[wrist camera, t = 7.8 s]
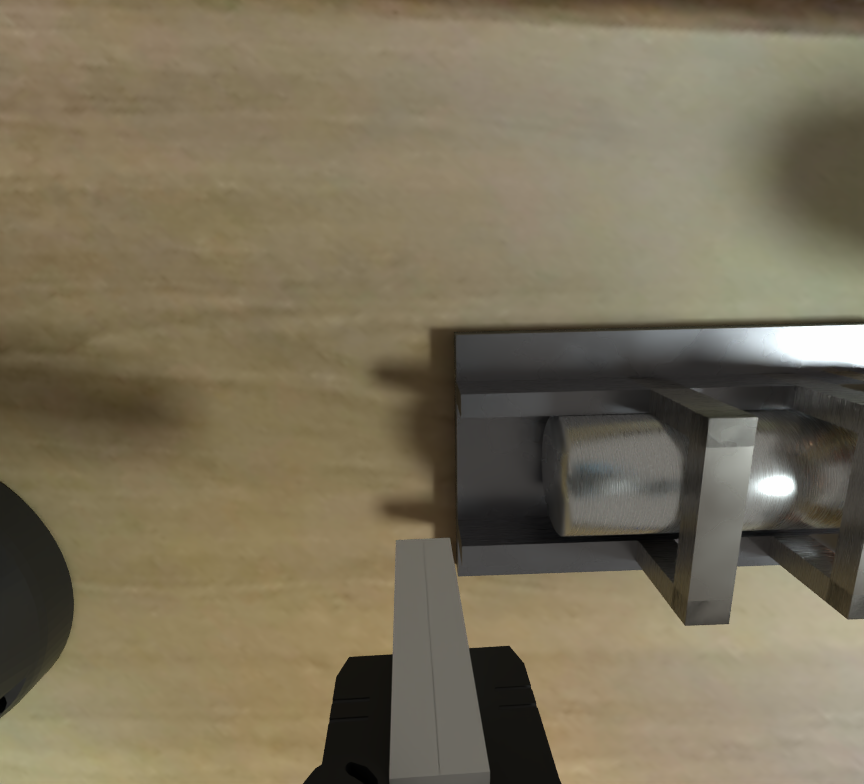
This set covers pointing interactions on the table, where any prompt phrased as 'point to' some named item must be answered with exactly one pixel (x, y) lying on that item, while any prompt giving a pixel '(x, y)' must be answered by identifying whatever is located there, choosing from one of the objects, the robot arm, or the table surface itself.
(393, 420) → the table surface
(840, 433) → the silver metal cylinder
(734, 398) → the grey slotted rack
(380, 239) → the table surface
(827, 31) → the table surface
